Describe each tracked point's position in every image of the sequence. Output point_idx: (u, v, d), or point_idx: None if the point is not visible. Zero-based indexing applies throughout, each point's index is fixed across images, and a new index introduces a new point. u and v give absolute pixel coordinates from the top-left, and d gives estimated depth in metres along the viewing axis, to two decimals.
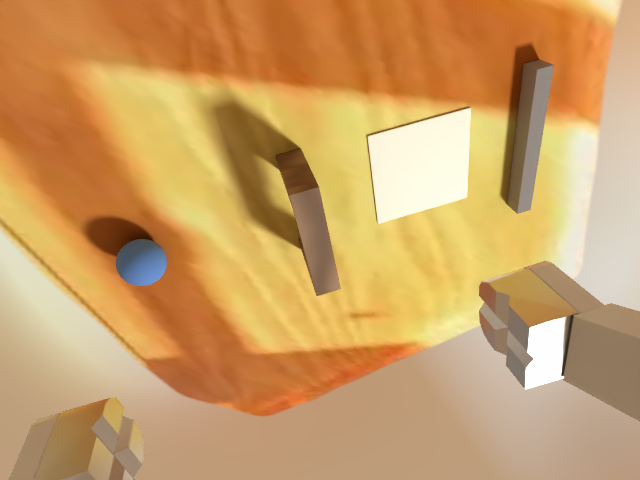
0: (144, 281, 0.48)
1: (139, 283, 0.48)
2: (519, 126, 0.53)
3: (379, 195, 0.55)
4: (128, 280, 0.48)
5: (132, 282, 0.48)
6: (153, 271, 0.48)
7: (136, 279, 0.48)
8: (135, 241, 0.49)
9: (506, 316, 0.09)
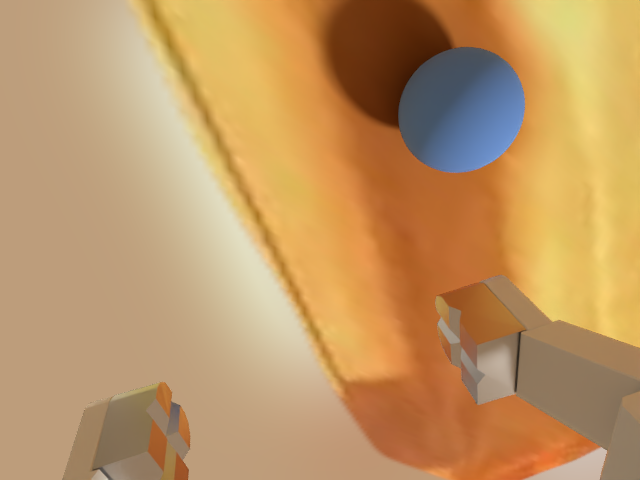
0: (492, 145, 0.18)
1: (477, 152, 0.18)
2: None
3: None
4: (453, 141, 0.18)
5: (464, 146, 0.18)
6: (519, 116, 0.18)
7: (479, 137, 0.17)
8: (457, 48, 0.19)
9: (459, 331, 0.09)
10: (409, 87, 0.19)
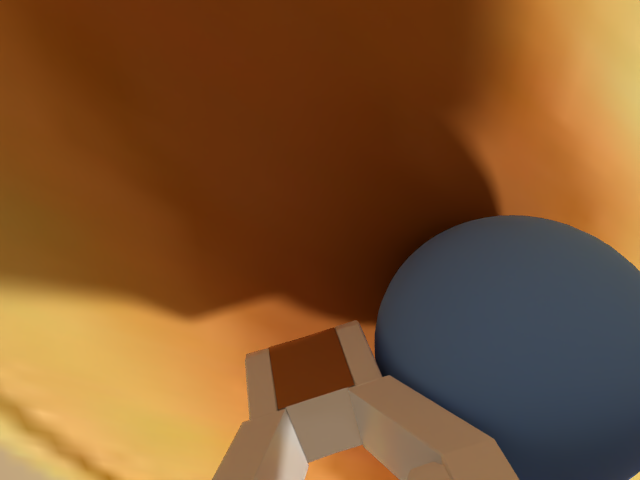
0: None
1: None
2: None
3: None
4: None
5: None
6: None
7: None
8: (502, 226, 0.08)
9: None
10: (401, 334, 0.08)
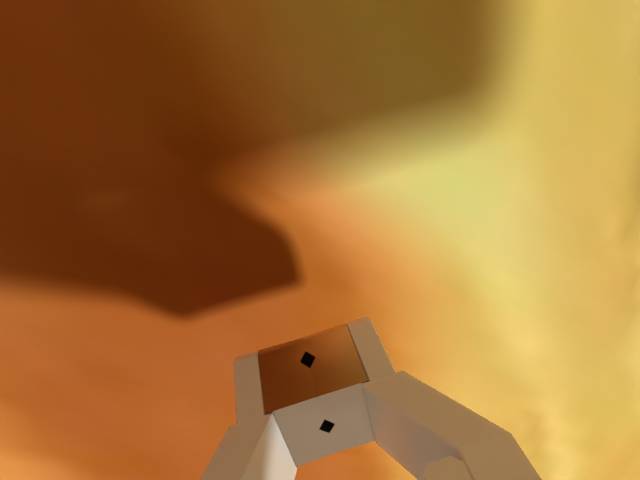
0: None
1: None
2: None
3: None
4: None
5: None
6: None
7: None
8: None
9: None
10: None
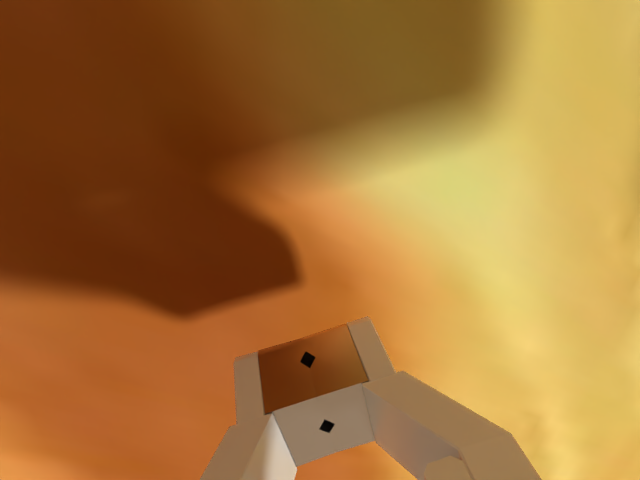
0: None
1: None
2: None
3: None
4: None
5: None
6: None
7: None
8: None
9: None
10: None
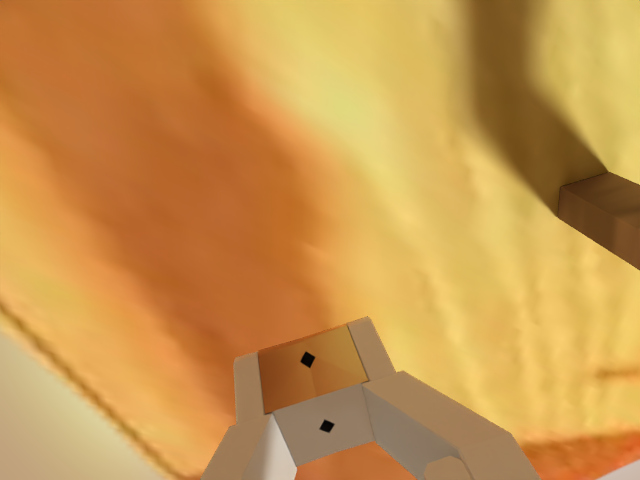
0: None
1: None
2: None
3: None
4: None
5: None
6: None
7: None
8: None
9: None
10: None
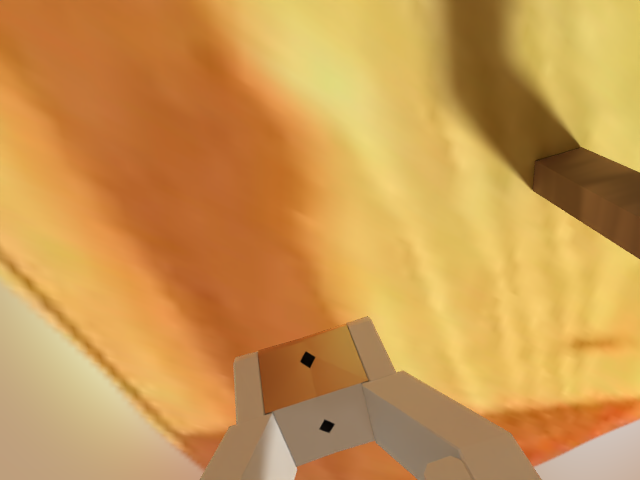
0: None
1: None
2: None
3: None
4: None
5: None
6: None
7: None
8: None
9: None
10: None
